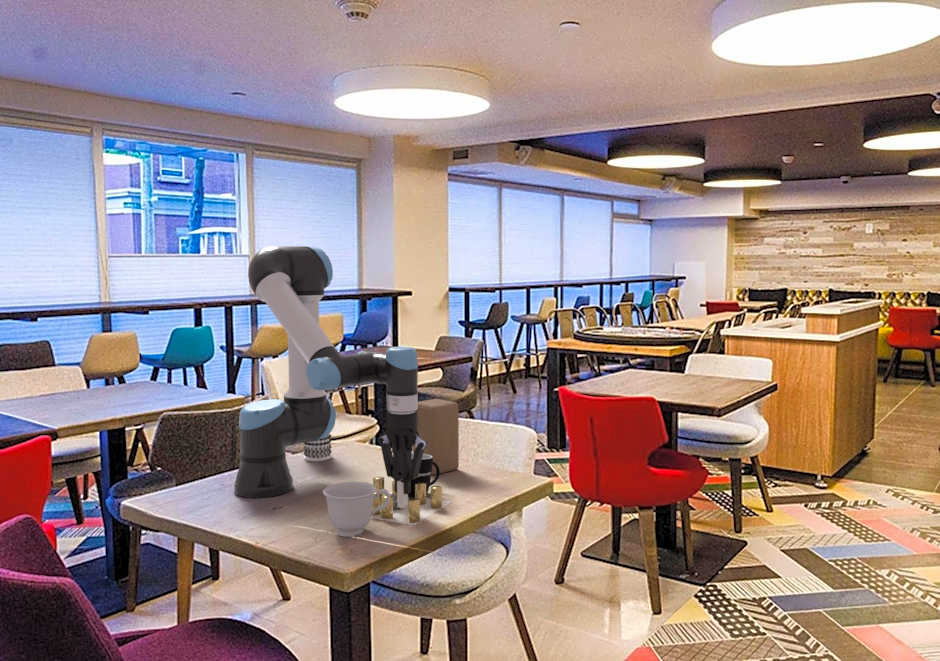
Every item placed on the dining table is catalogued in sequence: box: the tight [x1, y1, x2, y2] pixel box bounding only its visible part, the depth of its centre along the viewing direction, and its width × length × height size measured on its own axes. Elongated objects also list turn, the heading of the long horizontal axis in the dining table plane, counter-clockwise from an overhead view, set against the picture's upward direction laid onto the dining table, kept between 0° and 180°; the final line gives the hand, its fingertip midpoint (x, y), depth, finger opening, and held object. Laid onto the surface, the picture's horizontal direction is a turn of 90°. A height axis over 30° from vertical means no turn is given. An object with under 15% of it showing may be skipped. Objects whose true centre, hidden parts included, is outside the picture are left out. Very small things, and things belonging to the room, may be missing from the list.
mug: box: [401, 452, 441, 498], centre depth 198 cm, size 12×9×10 cm
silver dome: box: [390, 494, 400, 510], centre depth 187 cm, size 5×5×2 cm
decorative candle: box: [302, 390, 333, 462], centre depth 235 cm, size 9×9×25 cm
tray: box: [371, 491, 453, 526], centre depth 188 cm, size 23×19×1 cm
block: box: [412, 398, 460, 476], centre depth 221 cm, size 10×10×20 cm
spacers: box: [372, 476, 443, 524], centre depth 186 cm, size 20×15×5 cm
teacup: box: [322, 481, 390, 538], centre depth 171 cm, size 12×15×10 cm
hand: (402, 506), depth 186 cm, fingers closed
